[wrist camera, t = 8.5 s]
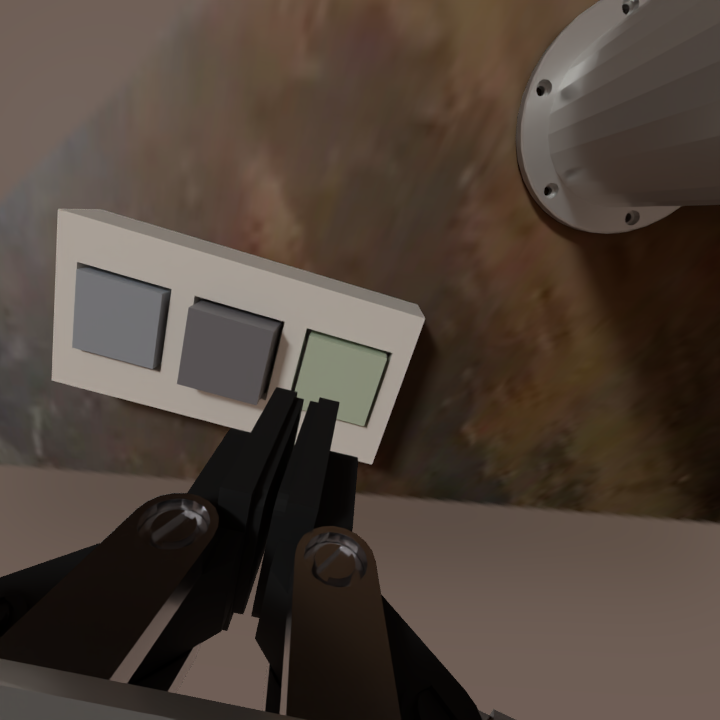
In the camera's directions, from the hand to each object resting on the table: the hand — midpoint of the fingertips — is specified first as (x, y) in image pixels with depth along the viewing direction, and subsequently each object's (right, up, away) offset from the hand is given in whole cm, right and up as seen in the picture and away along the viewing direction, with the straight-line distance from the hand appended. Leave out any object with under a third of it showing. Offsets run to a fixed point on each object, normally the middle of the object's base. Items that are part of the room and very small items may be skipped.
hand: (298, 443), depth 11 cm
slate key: (-13, +6, +17) cm, 22 cm away
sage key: (0, +2, +18) cm, 18 cm away
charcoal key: (-6, +3, +16) cm, 18 cm away
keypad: (-6, +4, +19) cm, 20 cm away
